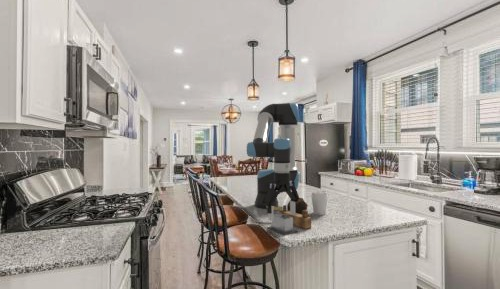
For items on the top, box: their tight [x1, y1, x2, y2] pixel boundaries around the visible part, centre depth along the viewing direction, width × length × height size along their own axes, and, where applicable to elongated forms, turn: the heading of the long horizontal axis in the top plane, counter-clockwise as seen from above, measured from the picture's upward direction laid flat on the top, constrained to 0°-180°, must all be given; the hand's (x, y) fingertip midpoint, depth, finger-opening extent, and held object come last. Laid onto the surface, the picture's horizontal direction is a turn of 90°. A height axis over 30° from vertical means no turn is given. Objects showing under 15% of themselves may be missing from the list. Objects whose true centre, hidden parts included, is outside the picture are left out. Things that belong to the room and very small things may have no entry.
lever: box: [273, 205, 283, 211], centre depth 137 cm, size 2×8×2 cm, turn 76°
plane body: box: [278, 204, 312, 230], centre depth 130 cm, size 18×4×8 cm, turn 35°
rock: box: [286, 197, 308, 215], centre depth 145 cm, size 14×11×10 cm
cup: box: [311, 190, 329, 216], centre depth 150 cm, size 9×9×12 cm
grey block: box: [271, 212, 294, 233], centre depth 121 cm, size 9×5×7 cm, turn 35°
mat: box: [266, 225, 298, 236], centre depth 121 cm, size 12×8×1 cm, turn 35°
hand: (282, 217), depth 121 cm, fingers open, 13 cm apart
